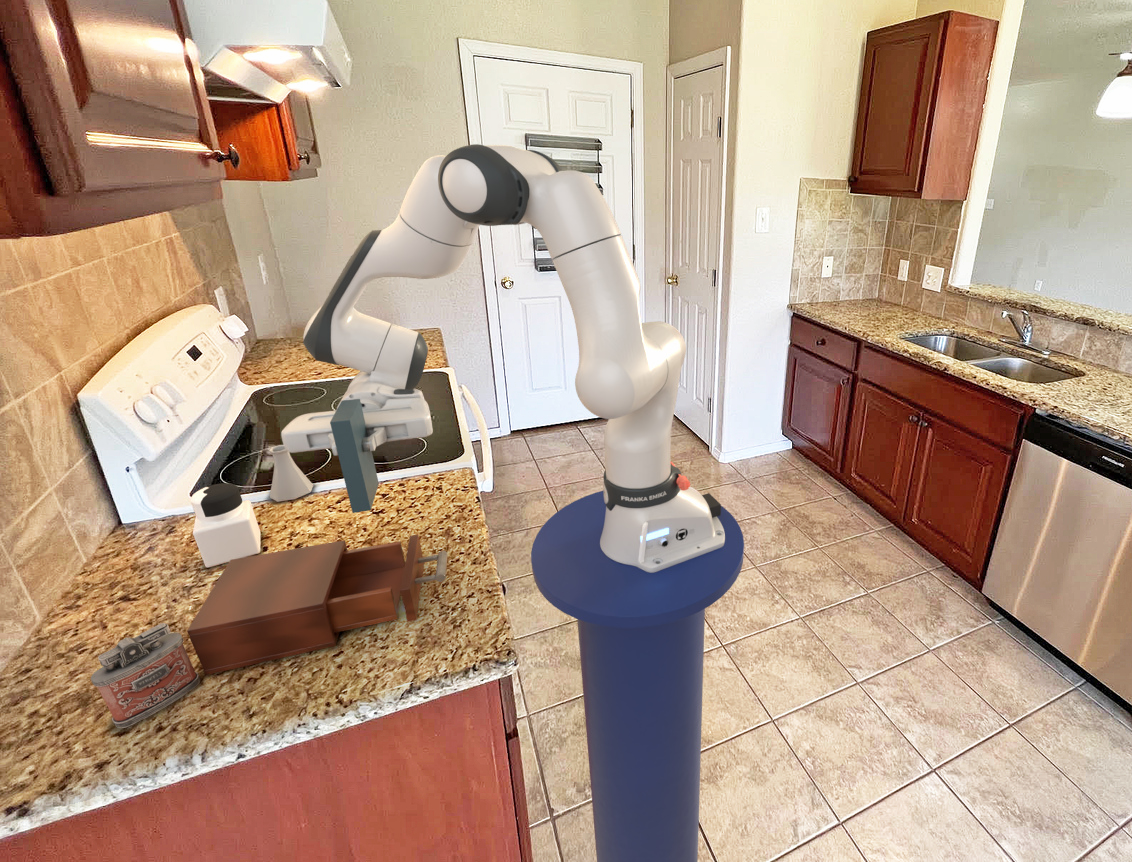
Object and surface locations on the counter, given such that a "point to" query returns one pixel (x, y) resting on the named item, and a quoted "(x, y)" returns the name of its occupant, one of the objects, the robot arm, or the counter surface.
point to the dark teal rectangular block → (354, 455)
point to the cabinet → (267, 608)
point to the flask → (287, 477)
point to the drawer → (379, 584)
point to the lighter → (144, 675)
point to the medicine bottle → (224, 524)
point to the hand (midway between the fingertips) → (353, 449)
